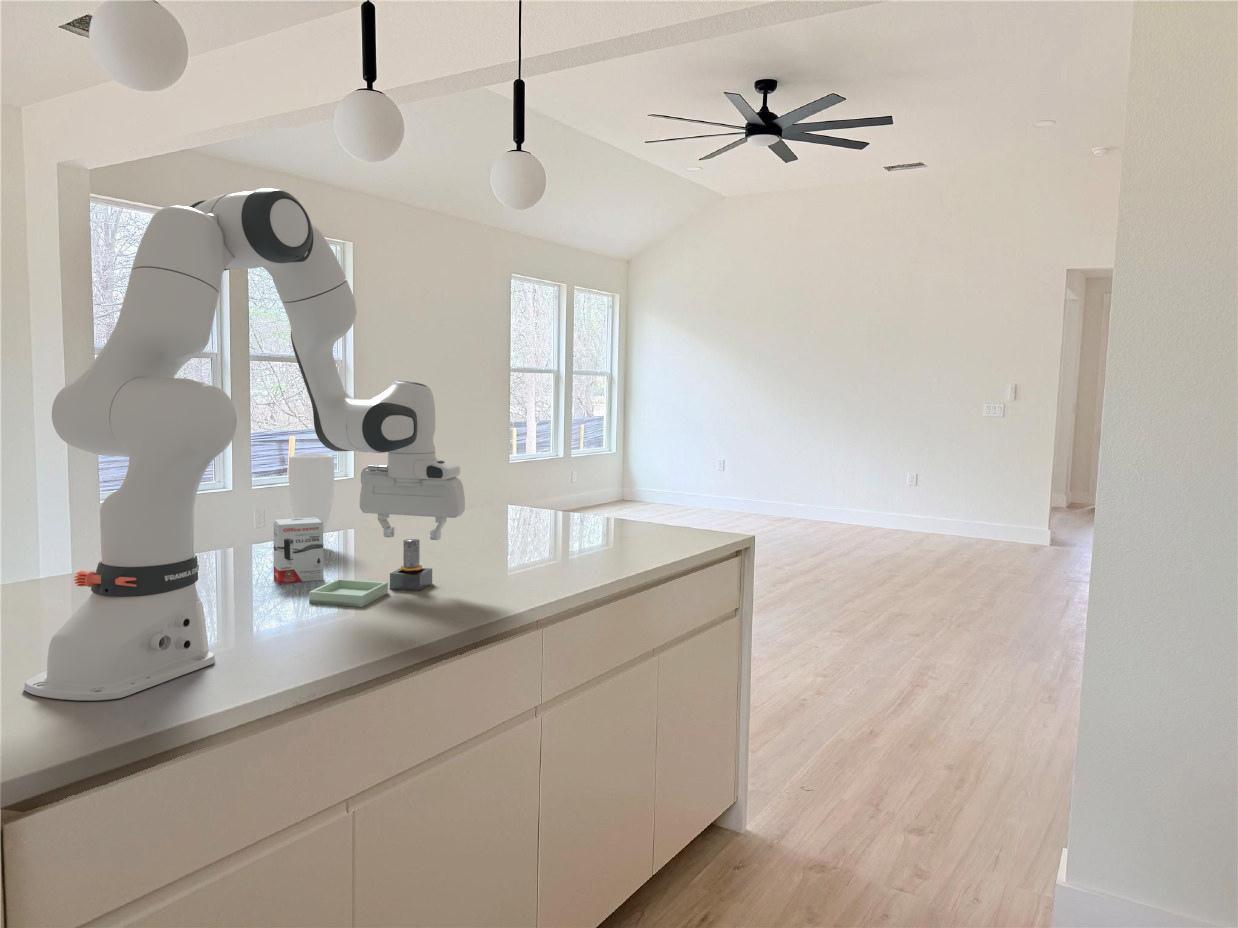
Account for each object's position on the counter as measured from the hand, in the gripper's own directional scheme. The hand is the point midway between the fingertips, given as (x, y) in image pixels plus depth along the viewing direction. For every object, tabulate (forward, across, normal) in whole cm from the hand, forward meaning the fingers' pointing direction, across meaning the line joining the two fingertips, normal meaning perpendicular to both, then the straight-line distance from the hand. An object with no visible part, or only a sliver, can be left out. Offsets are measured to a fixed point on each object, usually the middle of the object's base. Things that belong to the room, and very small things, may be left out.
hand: (412, 538), depth 158 cm
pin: (+9, 0, -1) cm, 9 cm away
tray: (+9, -7, -12) cm, 16 cm away
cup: (+10, -37, +28) cm, 47 cm away
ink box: (+10, -23, -2) cm, 25 cm away
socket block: (+9, 0, -1) cm, 9 cm away
